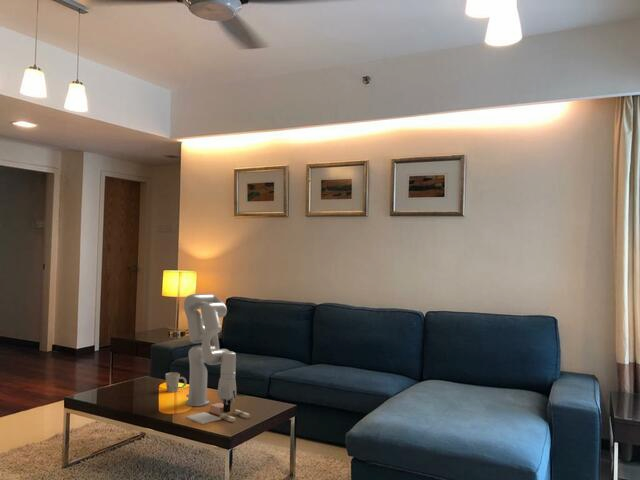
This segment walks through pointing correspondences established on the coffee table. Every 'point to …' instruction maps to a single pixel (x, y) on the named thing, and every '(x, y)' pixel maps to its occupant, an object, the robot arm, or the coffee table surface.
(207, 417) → the mat
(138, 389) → the coffee table surface
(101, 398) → the coffee table surface
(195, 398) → the robot arm
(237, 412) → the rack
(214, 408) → the block
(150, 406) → the coffee table surface
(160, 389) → the coffee table surface
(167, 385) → the mug
